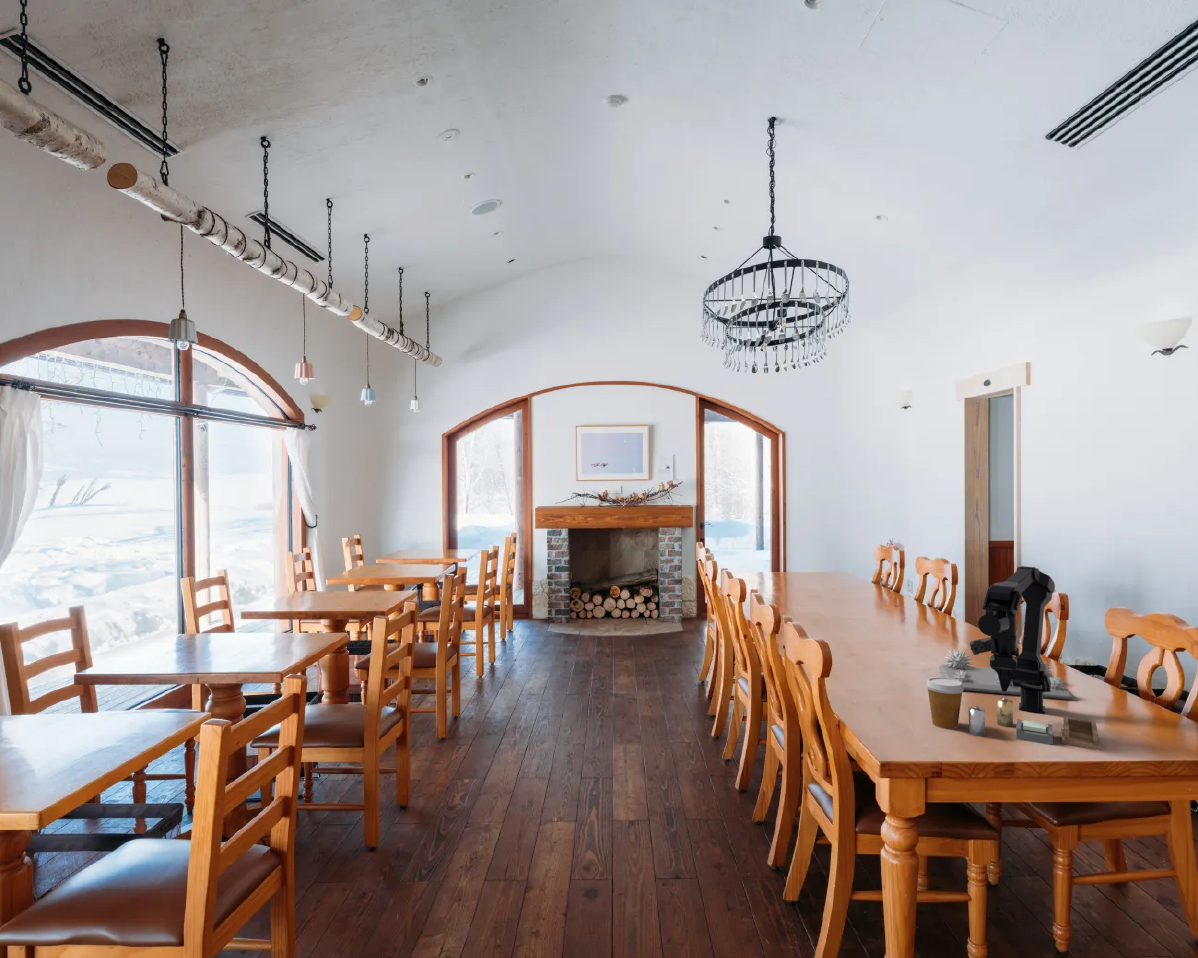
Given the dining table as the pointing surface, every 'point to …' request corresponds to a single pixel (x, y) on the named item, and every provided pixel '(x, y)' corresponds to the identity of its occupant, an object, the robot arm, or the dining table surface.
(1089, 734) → the wooden open box
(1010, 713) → the cell bronze
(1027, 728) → the checker pad
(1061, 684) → the decorative tray
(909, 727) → the dining table surface
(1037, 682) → the robot arm
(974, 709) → the cell steel
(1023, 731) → the base
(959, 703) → the disposable coffee cup
